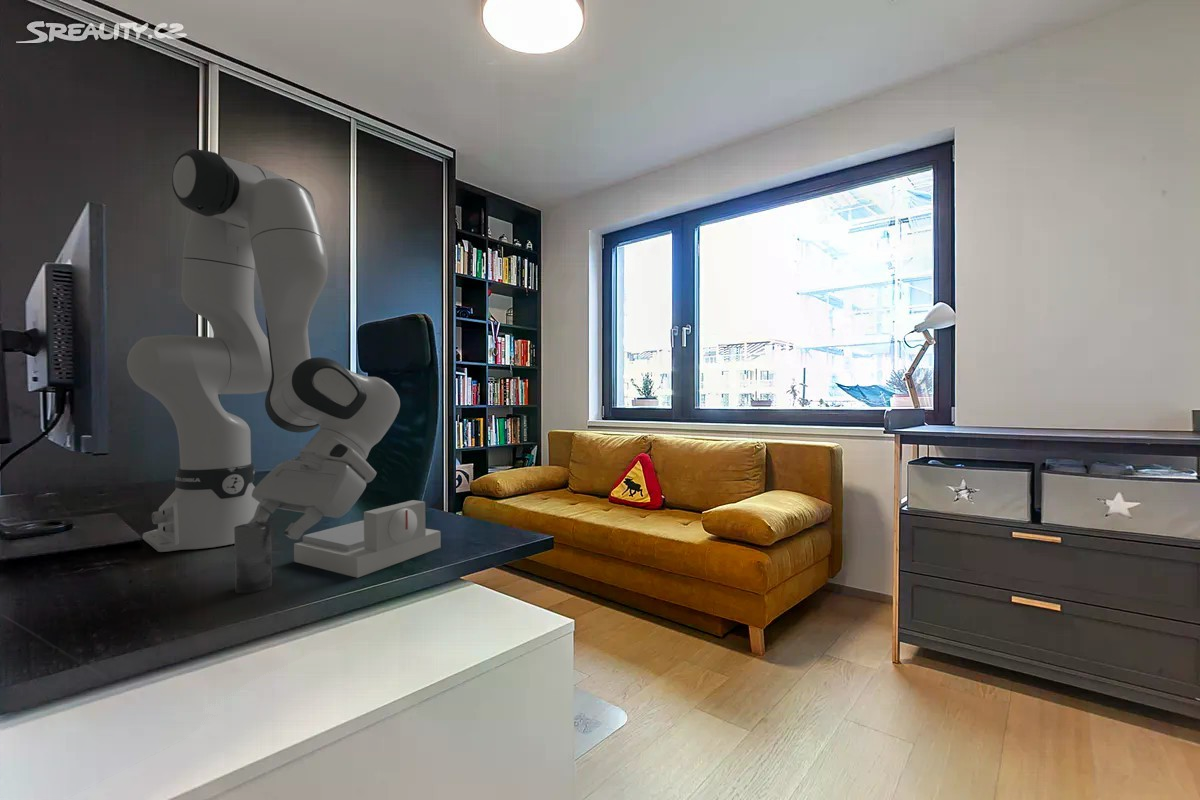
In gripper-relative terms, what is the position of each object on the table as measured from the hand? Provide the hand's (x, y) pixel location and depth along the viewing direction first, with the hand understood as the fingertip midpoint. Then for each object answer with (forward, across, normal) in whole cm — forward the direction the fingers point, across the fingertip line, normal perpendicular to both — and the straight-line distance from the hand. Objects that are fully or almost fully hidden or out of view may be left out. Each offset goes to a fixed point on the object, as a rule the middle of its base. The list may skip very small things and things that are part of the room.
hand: (270, 533), depth 77 cm
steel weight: (+7, 0, +4) cm, 8 cm away
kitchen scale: (-6, +2, +16) cm, 17 cm away
